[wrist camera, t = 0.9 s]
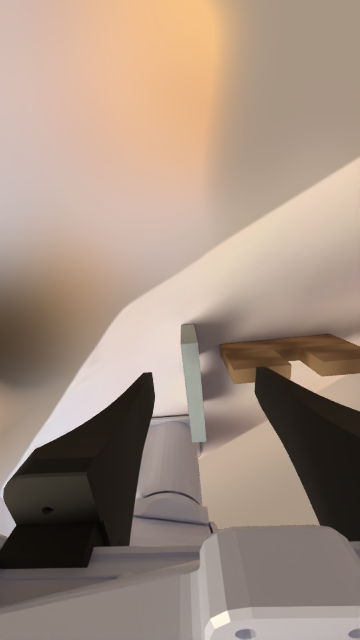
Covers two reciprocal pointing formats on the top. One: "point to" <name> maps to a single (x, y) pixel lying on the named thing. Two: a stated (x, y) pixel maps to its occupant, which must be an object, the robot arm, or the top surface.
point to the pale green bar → (193, 382)
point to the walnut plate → (291, 356)
